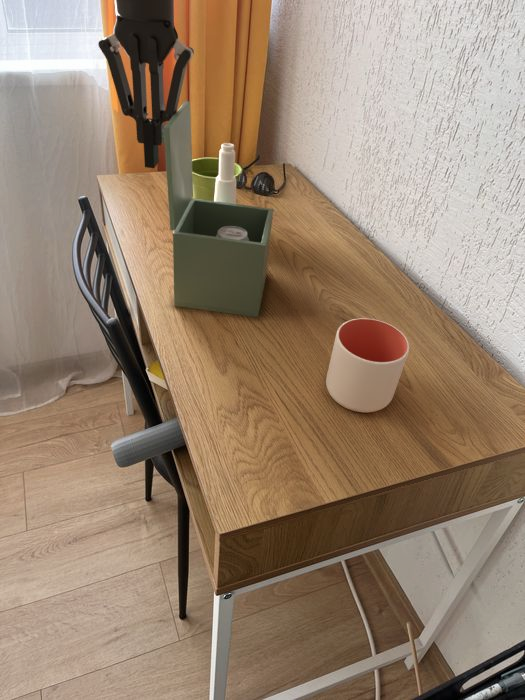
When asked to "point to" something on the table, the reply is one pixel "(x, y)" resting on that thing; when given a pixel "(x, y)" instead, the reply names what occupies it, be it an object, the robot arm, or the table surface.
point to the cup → (366, 364)
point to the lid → (179, 163)
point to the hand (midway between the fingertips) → (151, 164)
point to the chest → (221, 258)
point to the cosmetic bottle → (226, 175)
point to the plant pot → (207, 177)
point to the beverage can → (233, 233)
